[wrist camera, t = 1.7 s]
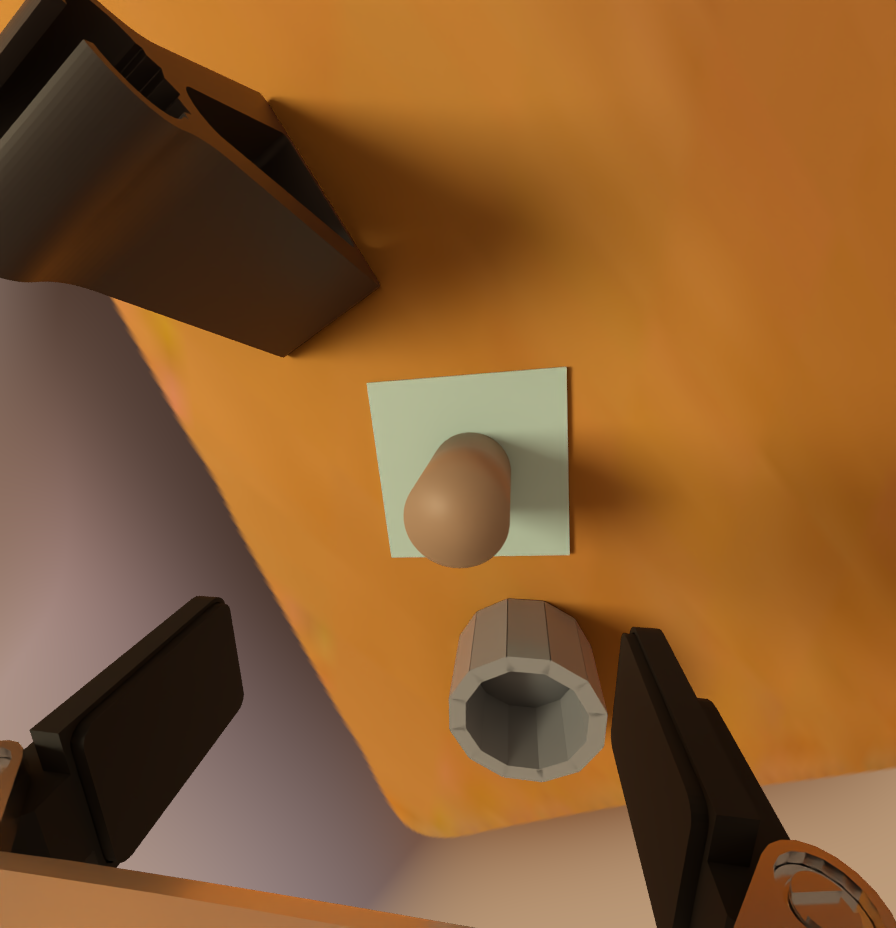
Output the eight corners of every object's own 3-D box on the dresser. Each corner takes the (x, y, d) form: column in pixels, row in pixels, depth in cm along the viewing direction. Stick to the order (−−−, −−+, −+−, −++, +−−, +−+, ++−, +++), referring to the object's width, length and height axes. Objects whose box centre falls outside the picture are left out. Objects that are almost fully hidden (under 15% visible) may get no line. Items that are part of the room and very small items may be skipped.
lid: (370, 381, 22) (314, 402, 16) (565, 365, 21) (587, 382, 14) (394, 552, 25) (353, 627, 18) (568, 549, 23) (588, 630, 17)
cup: (459, 595, 25) (448, 651, 20) (595, 604, 24) (613, 665, 19) (460, 699, 27) (450, 770, 22) (584, 712, 26) (599, 788, 21)
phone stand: (382, 287, 20) (218, 237, 9) (286, 357, 22) (44, 389, 11) (266, 97, 19) (-114, -258, 7) (171, 187, 20) (-259, 10, 9)
